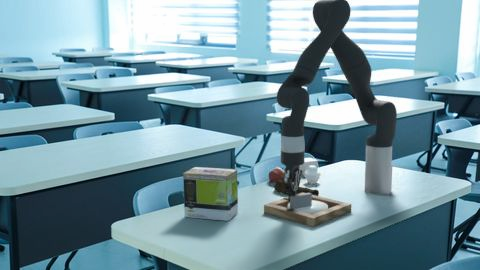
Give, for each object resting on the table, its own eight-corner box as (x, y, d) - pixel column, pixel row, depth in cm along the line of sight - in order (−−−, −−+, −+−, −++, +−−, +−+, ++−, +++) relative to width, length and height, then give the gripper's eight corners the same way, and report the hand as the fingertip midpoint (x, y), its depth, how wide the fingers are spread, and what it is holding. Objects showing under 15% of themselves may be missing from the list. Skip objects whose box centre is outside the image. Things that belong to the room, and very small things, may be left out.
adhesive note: (304, 176, 246) (304, 161, 245) (297, 173, 251) (297, 159, 250) (317, 174, 248) (317, 160, 247) (310, 171, 254) (310, 157, 252)
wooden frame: (302, 200, 213) (302, 191, 212) (351, 212, 199) (351, 203, 199) (263, 213, 199) (263, 203, 198) (313, 227, 185) (313, 217, 184)
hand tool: (319, 200, 214) (319, 187, 213) (312, 202, 211) (312, 189, 210) (279, 189, 228) (279, 177, 227) (272, 191, 225) (272, 179, 224)
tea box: (238, 212, 199) (238, 168, 197) (227, 222, 190) (227, 176, 187) (195, 208, 204) (195, 165, 202) (183, 217, 195) (182, 172, 192)
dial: (311, 202, 208) (311, 186, 207) (336, 212, 197) (336, 195, 196) (279, 208, 201) (279, 191, 200) (303, 218, 190) (303, 201, 189)
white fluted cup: (302, 183, 234) (302, 166, 233) (306, 180, 240) (307, 162, 239) (318, 185, 232) (318, 167, 231) (322, 181, 237) (322, 163, 236)
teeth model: (303, 165, 237) (279, 170, 230) (303, 181, 238) (279, 186, 231) (289, 162, 244) (265, 167, 237) (289, 178, 245) (266, 183, 238)
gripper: (296, 154, 188) (296, 208, 191) (310, 145, 199) (309, 197, 203) (273, 152, 191) (274, 206, 194) (288, 144, 202) (288, 194, 206)
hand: (292, 201), depth 198 cm, fingers closed
